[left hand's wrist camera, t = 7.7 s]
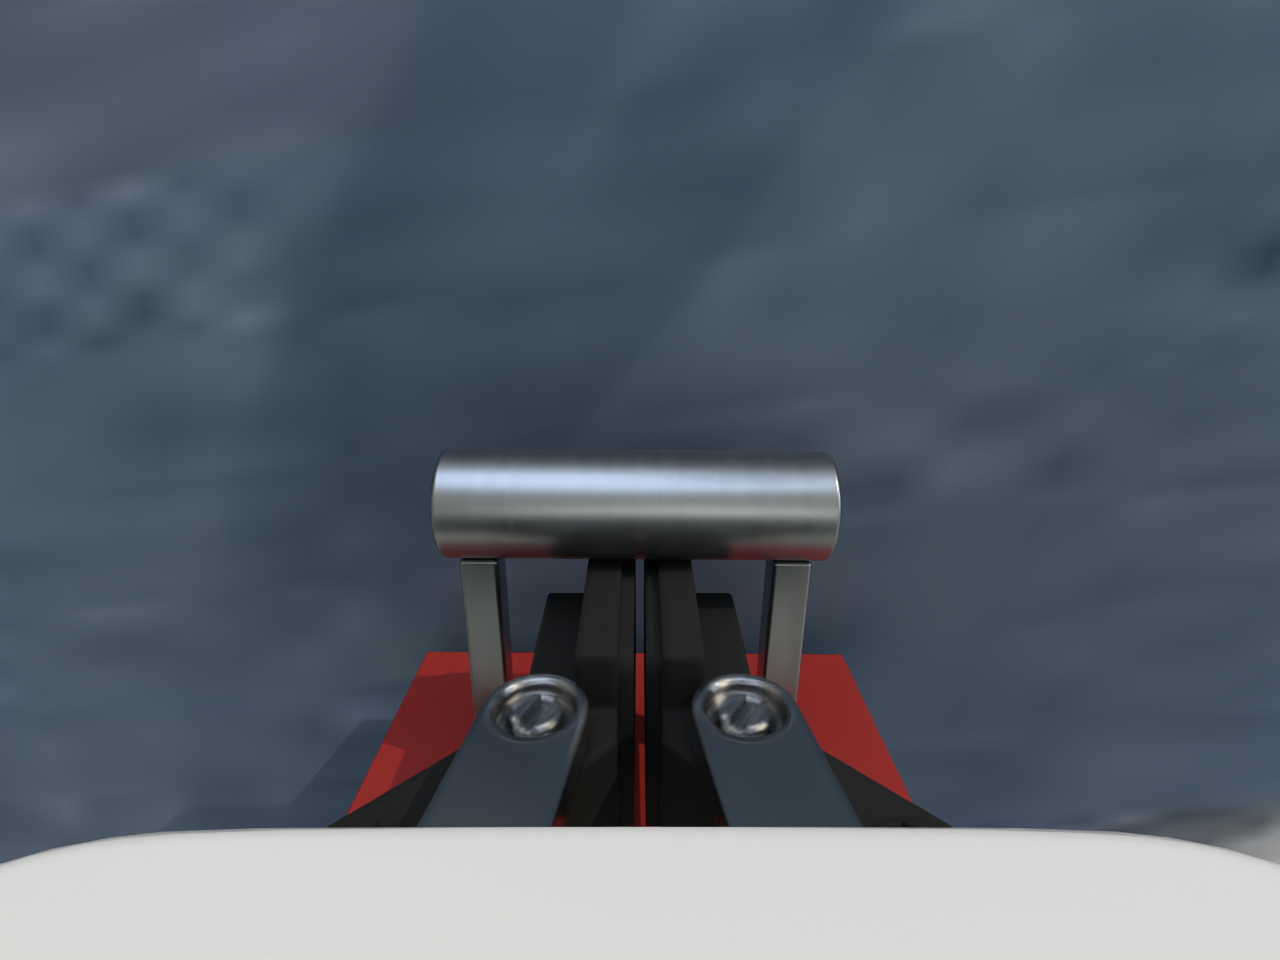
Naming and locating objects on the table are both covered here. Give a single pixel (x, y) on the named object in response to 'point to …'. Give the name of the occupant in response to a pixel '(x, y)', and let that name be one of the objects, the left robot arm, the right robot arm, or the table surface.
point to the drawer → (629, 529)
